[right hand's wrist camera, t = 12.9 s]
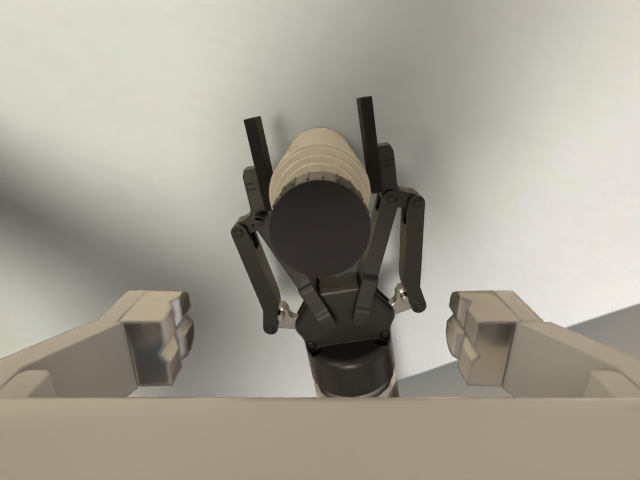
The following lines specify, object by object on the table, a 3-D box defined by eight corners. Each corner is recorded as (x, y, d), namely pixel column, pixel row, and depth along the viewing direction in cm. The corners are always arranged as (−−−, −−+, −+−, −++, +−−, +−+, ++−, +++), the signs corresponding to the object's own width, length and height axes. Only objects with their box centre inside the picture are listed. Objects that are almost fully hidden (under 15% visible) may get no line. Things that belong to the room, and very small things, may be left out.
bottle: (354, 127, 33) (391, 158, 16) (353, 195, 35) (384, 287, 18) (284, 127, 33) (246, 159, 16) (287, 196, 35) (256, 288, 18)
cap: (368, 169, 18) (374, 177, 16) (365, 259, 19) (370, 277, 17) (270, 170, 18) (264, 179, 16) (275, 260, 19) (270, 278, 17)
